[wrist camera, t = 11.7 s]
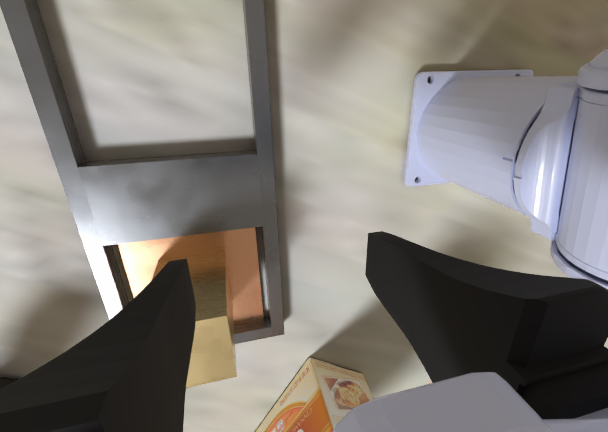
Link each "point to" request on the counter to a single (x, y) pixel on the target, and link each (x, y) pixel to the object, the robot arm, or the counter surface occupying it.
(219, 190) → the gray rectangular frame
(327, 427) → the coffeecake box
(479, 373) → the robot arm
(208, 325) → the brass block
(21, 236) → the counter surface
